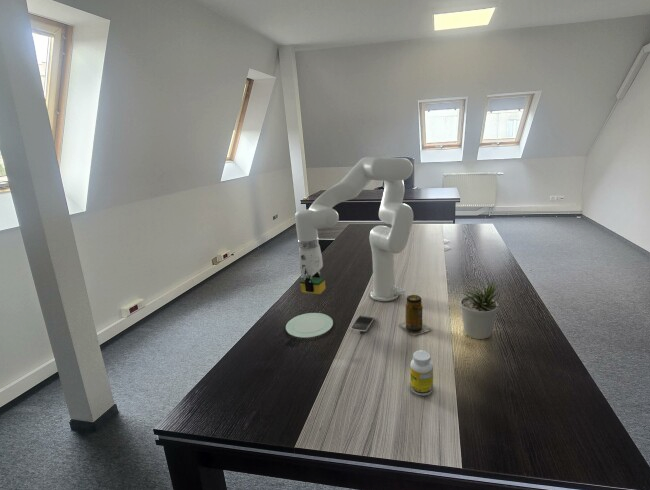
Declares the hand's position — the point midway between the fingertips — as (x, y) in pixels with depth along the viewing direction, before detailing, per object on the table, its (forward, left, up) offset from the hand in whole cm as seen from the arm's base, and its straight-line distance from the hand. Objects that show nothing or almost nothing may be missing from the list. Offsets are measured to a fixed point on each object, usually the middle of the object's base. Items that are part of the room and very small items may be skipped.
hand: (313, 287), depth 139 cm
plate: (0, +6, -14) cm, 15 cm away
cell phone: (-19, -1, -14) cm, 24 cm away
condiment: (-38, -5, -14) cm, 41 cm away
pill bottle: (-47, +26, -14) cm, 56 cm away
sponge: (0, 0, -1) cm, 1 cm away
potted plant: (-60, -8, -14) cm, 62 cm away
